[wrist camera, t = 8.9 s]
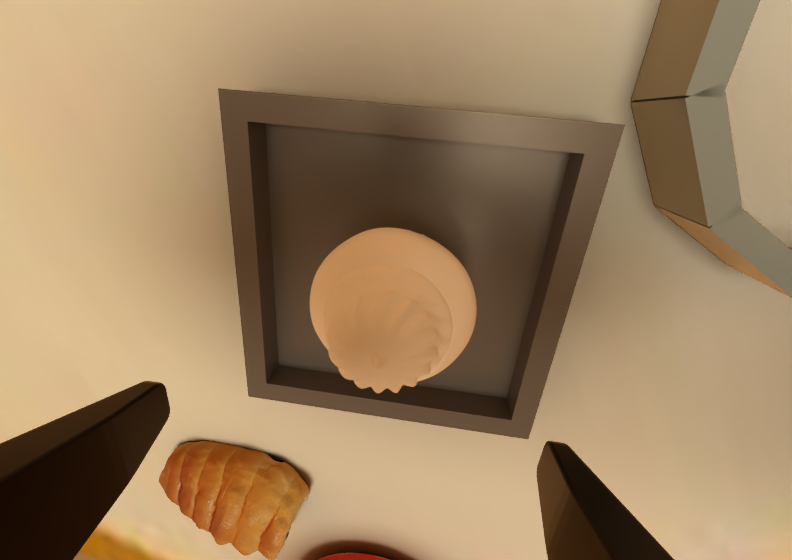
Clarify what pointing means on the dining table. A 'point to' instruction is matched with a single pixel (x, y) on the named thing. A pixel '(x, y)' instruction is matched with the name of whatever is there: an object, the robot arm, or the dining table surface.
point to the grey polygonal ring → (701, 134)
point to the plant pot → (352, 557)
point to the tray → (419, 212)
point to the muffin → (392, 308)
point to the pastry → (235, 494)
